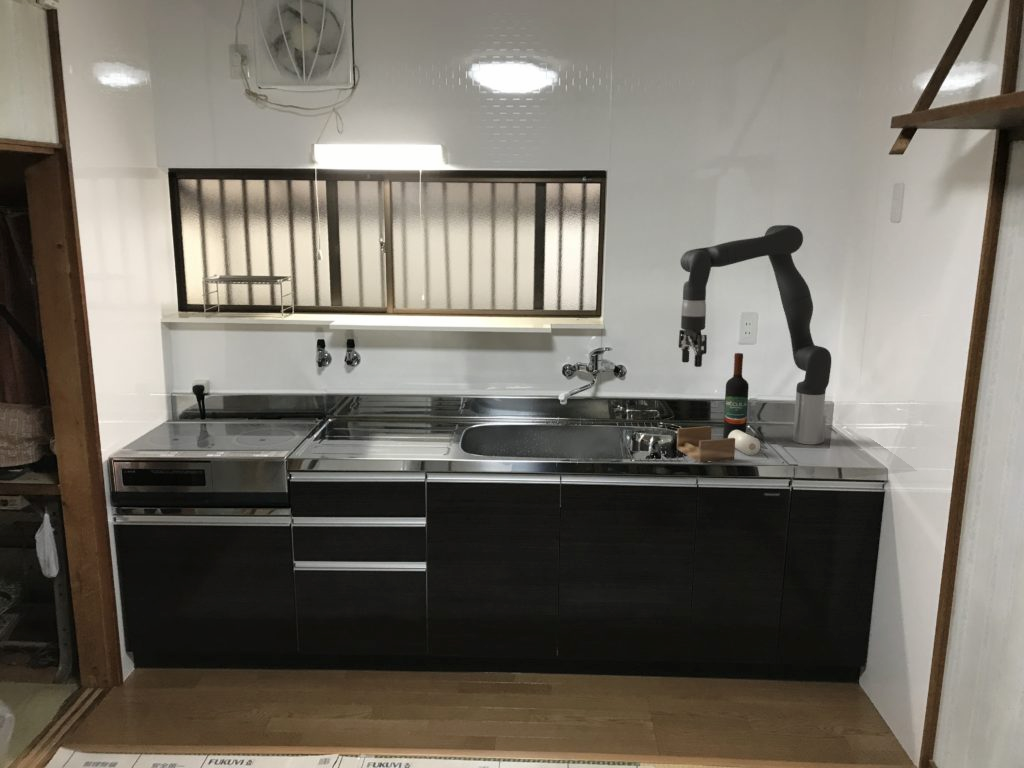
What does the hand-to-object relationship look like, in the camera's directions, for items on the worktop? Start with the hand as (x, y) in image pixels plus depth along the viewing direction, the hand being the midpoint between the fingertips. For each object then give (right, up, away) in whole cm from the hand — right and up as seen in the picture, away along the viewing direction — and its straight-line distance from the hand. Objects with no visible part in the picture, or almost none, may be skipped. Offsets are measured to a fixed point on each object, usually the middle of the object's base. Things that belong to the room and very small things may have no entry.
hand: (691, 364), depth 242 cm
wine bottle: (+20, -26, +21) cm, 39 cm away
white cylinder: (+19, -29, +7) cm, 35 cm away
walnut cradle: (+5, -29, +3) cm, 30 cm away
